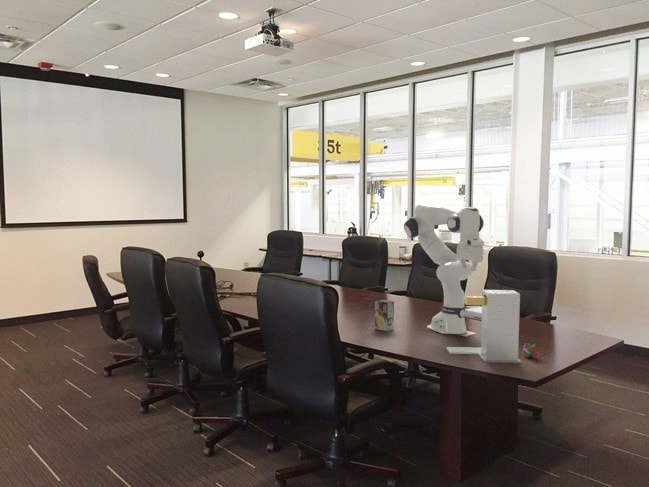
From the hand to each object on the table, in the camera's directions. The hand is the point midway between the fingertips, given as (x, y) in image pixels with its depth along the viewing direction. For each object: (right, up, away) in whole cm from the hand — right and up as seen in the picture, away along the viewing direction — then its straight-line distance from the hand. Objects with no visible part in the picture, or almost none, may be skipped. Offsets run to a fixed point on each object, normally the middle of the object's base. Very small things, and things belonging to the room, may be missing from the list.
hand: (468, 269), depth 252 cm
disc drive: (+32, -34, +77) cm, 90 cm away
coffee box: (-36, -36, +43) cm, 66 cm away
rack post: (+10, -40, -13) cm, 43 cm away
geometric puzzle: (+26, -40, -10) cm, 49 cm away
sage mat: (+1, -39, -1) cm, 39 cm away
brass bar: (+4, -15, -14) cm, 21 cm away
